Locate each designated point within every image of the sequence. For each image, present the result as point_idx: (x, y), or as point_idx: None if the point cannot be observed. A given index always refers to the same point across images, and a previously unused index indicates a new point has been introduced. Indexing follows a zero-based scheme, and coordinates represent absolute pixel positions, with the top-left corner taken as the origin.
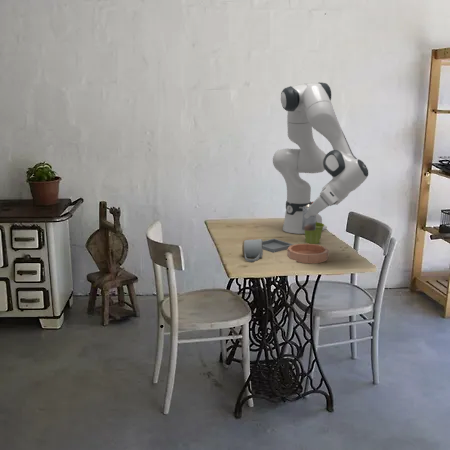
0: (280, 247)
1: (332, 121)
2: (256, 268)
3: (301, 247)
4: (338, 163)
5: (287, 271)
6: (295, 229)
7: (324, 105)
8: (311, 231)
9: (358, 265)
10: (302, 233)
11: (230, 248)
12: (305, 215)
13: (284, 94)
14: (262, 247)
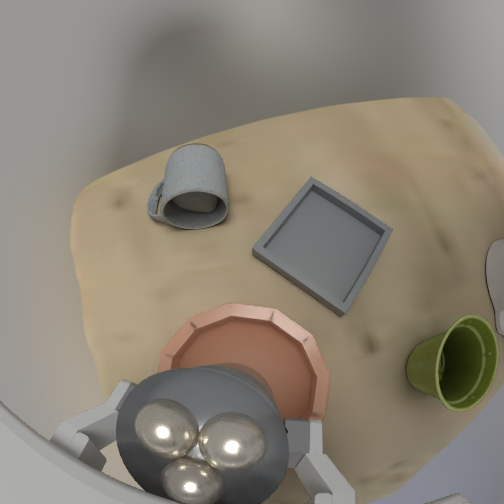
0: (286, 270)
1: None
2: (103, 234)
3: (304, 353)
4: None
5: (85, 322)
6: (496, 278)
7: None
8: (429, 368)
9: None
10: (493, 304)
11: (276, 135)
12: (117, 391)
13: None
14: (226, 209)
